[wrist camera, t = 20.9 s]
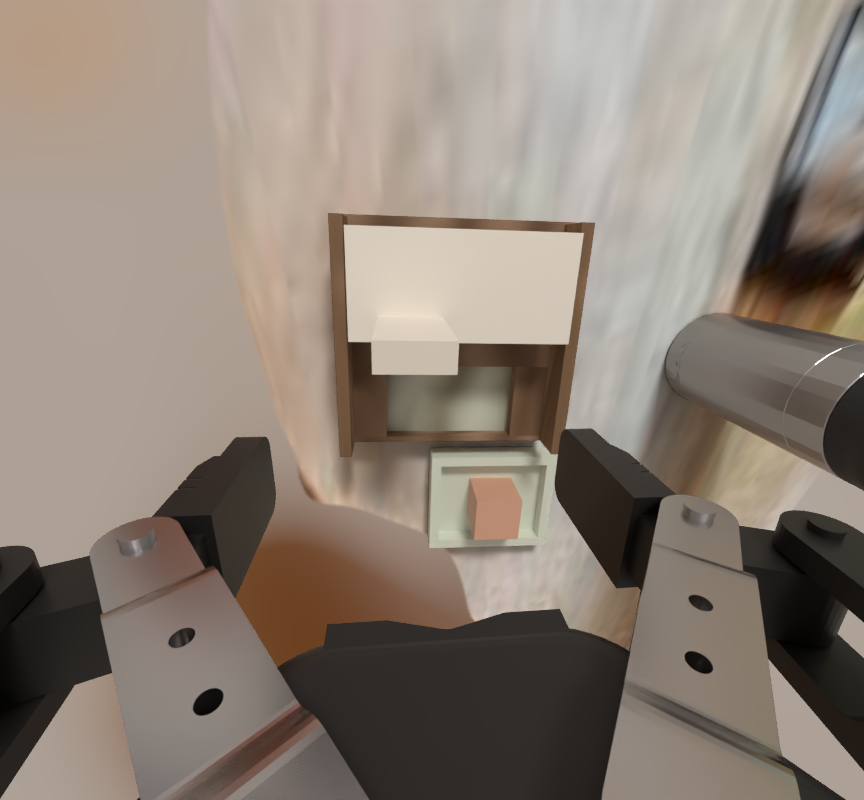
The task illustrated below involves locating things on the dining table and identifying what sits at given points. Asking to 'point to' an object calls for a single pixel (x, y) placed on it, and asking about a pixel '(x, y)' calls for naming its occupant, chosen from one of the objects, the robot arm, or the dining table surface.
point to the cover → (455, 292)
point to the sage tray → (458, 465)
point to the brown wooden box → (477, 366)
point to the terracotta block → (494, 508)
